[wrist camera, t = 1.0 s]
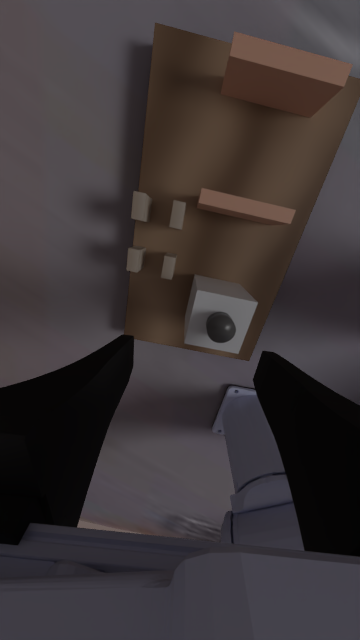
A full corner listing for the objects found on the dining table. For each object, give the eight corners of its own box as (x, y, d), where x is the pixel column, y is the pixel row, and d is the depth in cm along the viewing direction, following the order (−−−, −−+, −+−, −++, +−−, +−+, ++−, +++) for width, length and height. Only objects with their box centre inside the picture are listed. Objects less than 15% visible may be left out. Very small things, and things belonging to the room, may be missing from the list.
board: (348, 96, 13) (408, 45, 10) (245, 352, 22) (256, 377, 18) (158, 44, 13) (147, -31, 9) (127, 330, 21) (115, 350, 18)
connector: (239, 283, 17) (263, 308, 12) (225, 324, 19) (241, 362, 13) (194, 274, 17) (198, 294, 12) (184, 316, 19) (183, 351, 13)
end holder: (316, 101, 13) (352, 64, 10) (272, 225, 15) (290, 224, 13) (224, 76, 12) (234, 31, 9) (196, 208, 15) (198, 202, 12)
